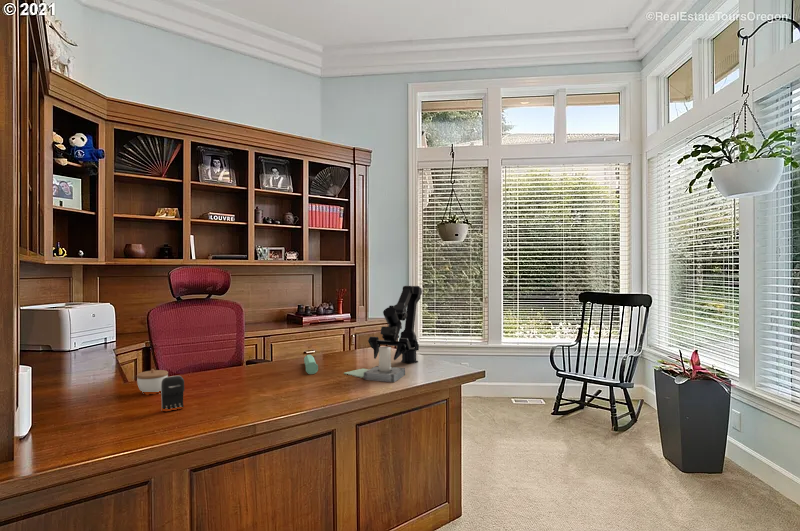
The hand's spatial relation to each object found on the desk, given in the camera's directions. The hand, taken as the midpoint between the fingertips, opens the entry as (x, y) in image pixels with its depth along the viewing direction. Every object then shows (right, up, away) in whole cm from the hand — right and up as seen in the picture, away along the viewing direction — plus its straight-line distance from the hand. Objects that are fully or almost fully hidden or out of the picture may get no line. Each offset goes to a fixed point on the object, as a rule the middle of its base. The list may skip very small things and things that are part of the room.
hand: (384, 359), depth 205 cm
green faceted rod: (-36, -9, +20) cm, 42 cm away
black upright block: (-71, -9, -45) cm, 84 cm away
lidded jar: (-89, -9, -23) cm, 93 cm away
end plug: (0, -8, 0) cm, 8 cm away
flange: (0, -8, 0) cm, 8 cm away
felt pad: (-10, -8, +8) cm, 15 cm away
